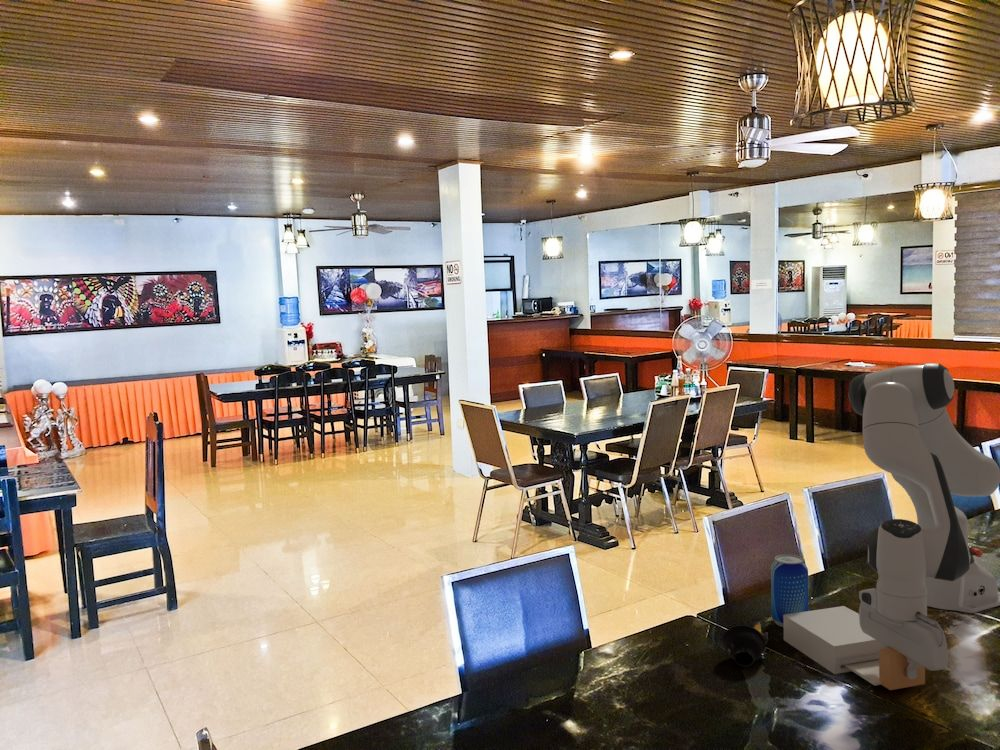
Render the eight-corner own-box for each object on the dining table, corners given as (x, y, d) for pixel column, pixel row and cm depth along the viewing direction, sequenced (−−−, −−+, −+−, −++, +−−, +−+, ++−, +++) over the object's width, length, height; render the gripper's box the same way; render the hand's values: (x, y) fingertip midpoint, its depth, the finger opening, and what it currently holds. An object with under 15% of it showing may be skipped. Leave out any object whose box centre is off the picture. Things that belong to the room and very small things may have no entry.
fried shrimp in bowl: (715, 649, 165) (715, 594, 181) (737, 687, 168) (735, 630, 184) (757, 638, 161) (753, 583, 177) (779, 678, 164) (773, 620, 180)
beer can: (803, 616, 192) (802, 553, 191) (813, 630, 184) (812, 564, 182) (768, 616, 193) (766, 553, 192) (776, 630, 184) (775, 564, 183)
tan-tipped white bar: (854, 638, 175) (854, 608, 175) (931, 682, 153) (931, 648, 153) (811, 645, 173) (811, 614, 172) (883, 691, 151) (883, 656, 150)
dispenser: (844, 630, 182) (843, 605, 182) (903, 665, 164) (903, 637, 164) (783, 640, 179) (783, 614, 178) (837, 676, 160) (837, 648, 160)
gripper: (957, 622, 143) (957, 694, 144) (879, 585, 163) (879, 649, 164) (928, 626, 141) (928, 699, 143) (853, 589, 161) (853, 653, 162)
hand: (901, 672), depth 153 cm, fingers closed on tan-tipped white bar, 3 cm apart
